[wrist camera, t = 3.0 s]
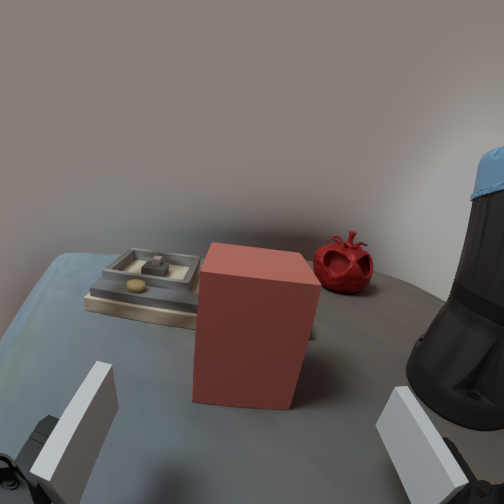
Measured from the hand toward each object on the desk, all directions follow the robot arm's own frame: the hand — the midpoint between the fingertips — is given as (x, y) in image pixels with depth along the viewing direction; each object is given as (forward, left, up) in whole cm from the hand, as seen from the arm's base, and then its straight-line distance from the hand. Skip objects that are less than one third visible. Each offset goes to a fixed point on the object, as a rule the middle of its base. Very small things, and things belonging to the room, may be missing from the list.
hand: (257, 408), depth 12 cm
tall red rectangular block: (0, -10, -6) cm, 11 cm away
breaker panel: (+5, -25, -6) cm, 26 cm away
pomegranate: (-16, -35, -6) cm, 39 cm away
